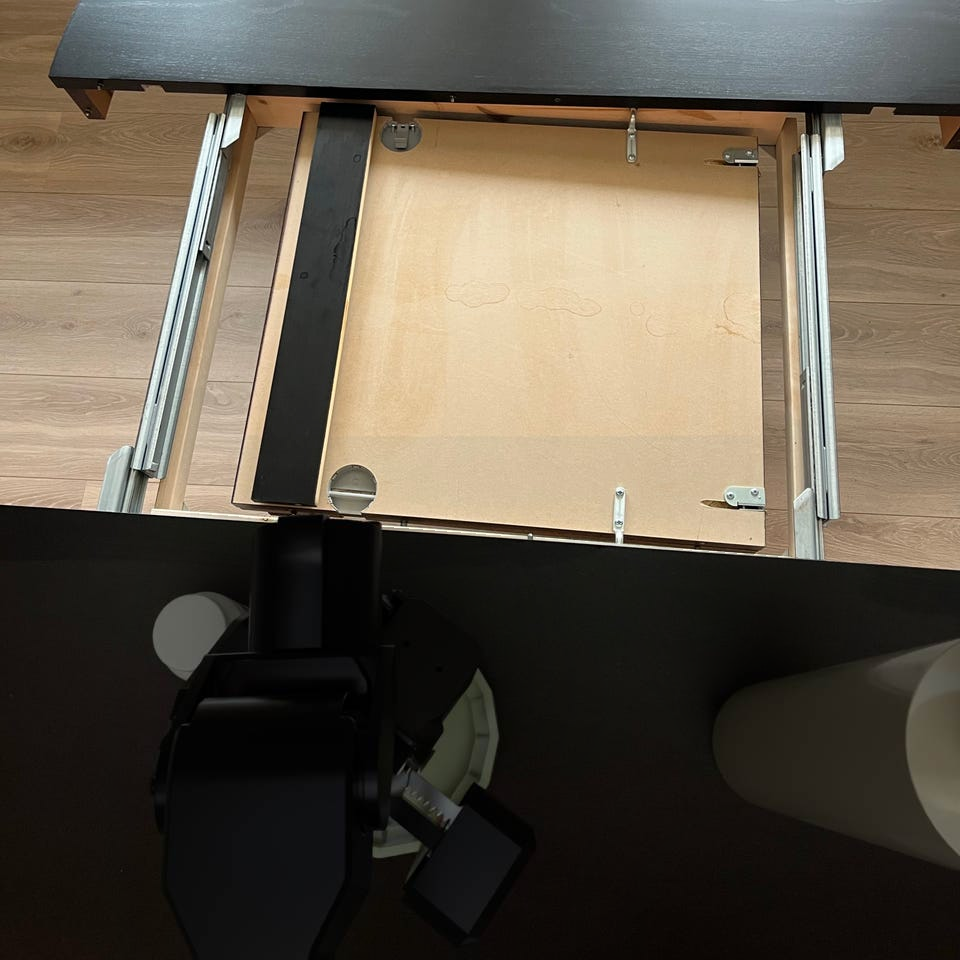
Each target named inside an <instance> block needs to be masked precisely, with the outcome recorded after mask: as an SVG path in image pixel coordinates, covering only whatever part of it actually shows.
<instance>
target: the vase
mask: <svg viewBox="0 0 960 960" xmlns="http://www.w3.org/2000/svg"><path fill="white" fill-rule="evenodd" d="M715 717H716V718H715V721H714V723H713V727H712V737H711V738H712V740H711V741H712V743H711V744H712V751H713V757H714V761H715V764H716V766H717V768H718V771H719V773H720V774H721V777H722V778H723V780H724V781H725V782H726V784H727V785H728V786H729V788H730V789H731V790H732V791H733V792H734V793H735V794H736V795H738V796H739V797H740V798H741V799H742V800H744V801H745V802H747V803H749V804H751V805H753V806H755V807H758V808H761V809H764V810H767V811H770V812H774V813H777V814H779V815H783V816H785V817H789V818H792V819H795V820H798V821H801V822H804V823H808V824H810V825H814V826H817V827H820V828H823V829H826V830H830V831H833V832H835V833H838V834H841V835H844V836H847V837H851V838H854V839H858V840H860V841H863V842H866V843H869V844H872V845H876V846H878V847H882V848H885V849H888V850H892V851H894V852H897V853H901V854H904V855H907V856H910V857H912V858H916V859H919V860H922V861H925V862H928V863H931V864H934V865H937V866H941V867H944V868H947V869H950V870H953V871H956V872H959V873H960V636H957V637H954V638H949V639H944V640H941V641H936V642H932V643H927V644H923V645H918V646H915V647H914V646H913V647H909V648H905V649H900V650H897V651H892V652H888V653H884V654H883V653H882V654H879V655H873V656H870V657H866V658H861V659H856V660H852V661H848V662H843V663H839V664H835V665H831V666H825V667H822V668H817V669H813V670H809V671H804V672H800V673H796V674H790V675H787V676H782V677H778V678H777V677H776V678H773V679H769V680H765V681H764V680H763V681H759V682H756V683H751V684H749V685H746V686H744V687H742V688H740V689H737V691H735V692H734V693H733V694H732V695H730V696H729V697H728V698H727V699H726V701H724V702H723V704H722V706H721V707H720V709H719V711H718V712H717V714H716V716H715Z"/></svg>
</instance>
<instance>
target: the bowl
mask: <svg viewBox="0 0 960 960" xmlns="http://www.w3.org/2000/svg"><path fill="white" fill-rule="evenodd" d="M443 727H444V732H443V734H442V735H441V737H440V738H439V740H438V741H437V743H436V744H435V746H434V747H433V749H434V750H435V751H436V752H435V753H434V754H433V756H432V757H431V759H430V760H429V762H428V763H427V765H426V766H425V768H424V769H423V771H422V772H421V773H420V775H421V776H422V777H423V778H425V779H426V780H427V781H428V782H430V783H431V784H432V785H433V786H434V787H436V788H437V789H438V790H439V791H441V792H442V793H443V794H444V795H446V796H447V797H448V798H449V799H451V800H452V801H453V802H454V803H456V802H457V801H458V800H459V798H460V797H461V796H462V795H463V794H464V792H465V791H466V790H467V789H468V788H469V787H470V785H471V784H472V783H473V782H475V783H477V784H478V785H480V786H481V787H483V788H484V789H486V790H487V789H488V787H489V786H490V785H491V783H492V780H493V776H494V771H495V766H496V761H497V756H498V752H499V748H500V743H501V742H500V741H501V738H502V737H501V736H502V735H501V730H500V729H501V728H500V722H499V716H498V711H497V704H496V697H495V693H494V691H493V689H492V687H491V685H490V684H489V682H488V681H487V679H486V677H485V675H484V673H483V672H482V671H481V669H480V667H478V669H477V671H476V674H475V676H474V678H473V680H472V683H471V684H470V686H469V688H468V689H467V690H466V692H465V693H464V694H463V695H462V697H461V698H460V699H459V701H458V702H457V703H456V705H455V706H454V708H453V709H452V710H451V712H450V713H449V714H448V716H447V717H446V719H445V720H444V721H443ZM410 792H411V788H409V789H408V790H406V791H405V792H404V795H403V796H405V797H406V798H407V799H408V800H409V801H411V802H412V803H413V804H414V805H416V806H417V807H418V808H419V809H420V810H422V811H423V812H424V813H425V814H427V815H428V816H429V817H430V818H432V819H433V820H435V819H436V816H435V815H436V811H437V809H436V808H435V809H434V810H433V811H431V812H430V811H429V808H430V803H429V804H427V805H426V806H425V807H424V806H422V805H423V801H424V798H422V799H421V800H419V801H416V798H417V795H418V794H417V793H416V794H414V795H413V796H410ZM420 845H421V842H420V841H419V840H417V839H416V838H415V837H414V836H413V835H411V834H410V833H409V832H408V831H406V830H405V829H404V828H403V827H402V826H400V825H399V824H398V823H397V822H396V821H394V820H393V819H392V818H391V817H390V816H389V819H388V825H387V828H386V830H385V831H374V834H373V858H376V859H385V858H390V857H395V856H402V855H406V854H412V853H417V852H418V850H419V848H420Z"/></svg>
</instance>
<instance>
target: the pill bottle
mask: <svg viewBox="0 0 960 960" xmlns="http://www.w3.org/2000/svg"><path fill="white" fill-rule="evenodd" d="M248 611H250V607H249V606H246V605H245V604H243V603H242V602H238V601H236V600H234V599H232V598H230V597H228V596H226V595H223V594H220V593H217V592H213V591H199V592H195V593H190V594H184V595H180V596H178V597H176V598H174V599H172V600H171V601H170V602H169V603H167V604H166V605H165V606H164V607H163V609H162V610H161V611H160V613H159V614H158V615H157V617H156V619H155V622H154V626H153V629H152V643H153V648H154V651H155V653H156V655H157V656H158V658H159V659H160V661H161V662H162V663H163V664H165V665H166V666H167V668H168V669H169V670H170V671H171V672H172V673H173V674H174V676H177V677H178V678H180V679H182V680H184V681H186V680H187V679H188V678H189V677H190V675H191V674H192V673H193V671H194V670H195V669H196V667H197V666H198V665H199V664H200V662H201V661H202V659H203V657H204V655H205V654H207V653H208V652H209V651H210V649H211V648H212V647H213V646H214V644H215V643H216V642H217V640H218V639H219V638H220V636H221V635H222V634H223V633H224V631H225V630H226V629H227V627H228V626H229V625H230V624H231V622H232V621H233V620H234V619H236V618H237V617H238V616H239V615H241V614H242V613H244V612H248Z"/></svg>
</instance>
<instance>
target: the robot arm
mask: <svg viewBox="0 0 960 960" xmlns="http://www.w3.org/2000/svg"><path fill="white" fill-rule="evenodd" d="M276 520H277V521H274V522H269V523H264V524H262V525H259V526H254V527H252V534H251V557H250V585H249V586H250V587H249V588H250V589H249V608H250V611H248V612H244V613H242V614H241V615H239V616H238V617H237V618H236V619H234V620H233V621H232V622H231V624H230V625H229V626H228V627H227V629H226V630H225V631H224V633H223V634H222V635H221V636H220V638H219V639H218V640H217V642H216V643H215V644H214V646H213V647H212V648H211V649H210V651H209V652H208V653H207V654H205V655H204V657H203V659H202V661H201V662H200V664H199V665H198V666H197V667H196V669H195V670H194V671H193V673H192V674H191V675H190V677H189V678H188V679H187V680H185V681H184V683H183V684H182V686H181V687H179V689H178V692H177V694H176V697H175V699H174V700H175V701H174V703H173V706H172V709H171V712H170V714H169V718H168V721H167V724H166V727H165V730H164V732H163V735H162V739H161V741H160V744H159V747H158V750H157V754H156V756H155V759H154V762H153V764H152V765H153V766H152V769H151V771H150V775H149V778H148V783H147V784H148V785H147V796H148V801H149V803H150V805H151V806H152V807H153V810H154V819H155V824H156V828H157V831H158V834H159V836H160V837H161V839H162V854H161V869H160V887H161V890H162V895H163V897H164V899H165V902H166V903H167V905H168V908H169V910H170V911H171V914H172V916H173V919H174V921H175V923H176V925H177V928H178V930H179V932H180V934H181V936H182V939H183V941H184V943H185V945H186V947H187V949H188V952H189V954H190V956H191V960H336V955H337V952H338V950H339V948H340V947H341V944H342V942H343V941H344V940H345V937H346V935H347V934H348V931H349V930H350V928H351V927H352V924H353V923H354V920H355V919H356V916H357V915H358V913H359V911H360V909H361V907H362V906H363V904H364V902H365V900H366V898H367V896H368V895H369V893H370V890H371V888H372V882H373V881H372V880H373V858H374V857H373V834H374V831H385V830H386V828H387V825H388V819H389V816H390V817H391V818H392V819H393V820H394V821H396V822H397V823H398V824H399V825H400V826H402V827H403V828H404V829H405V830H406V831H408V832H409V833H410V834H411V835H413V836H414V837H415V838H416V839H417V840H419V841H420V842H421V845H420V848H419V850H418V852H416V855H415V857H414V859H413V862H412V865H411V866H410V870H409V871H408V874H407V876H406V879H405V881H404V883H403V886H402V890H403V891H404V892H405V893H404V895H403V896H402V898H401V900H400V902H401V903H402V904H403V905H405V906H406V907H407V908H408V909H409V910H411V912H413V913H414V914H415V915H416V916H418V918H420V919H421V920H422V921H423V922H424V923H426V924H427V925H428V926H429V927H430V928H432V929H433V930H434V931H435V932H436V933H437V934H439V935H440V936H441V937H442V938H444V939H445V940H446V941H447V942H448V943H449V944H451V945H452V946H453V947H454V948H455V949H457V950H460V949H465V948H470V947H473V946H476V944H477V942H479V940H480V939H481V937H482V936H483V934H484V932H485V931H486V929H487V927H488V926H489V924H490V923H491V921H492V920H493V918H494V917H495V915H496V914H497V913H498V911H499V909H500V907H501V906H502V905H503V903H504V901H505V899H506V898H507V896H508V895H509V893H510V892H511V890H512V889H513V887H514V886H515V884H516V882H517V880H518V879H519V878H520V876H521V874H522V873H523V871H524V870H525V868H526V866H527V865H528V863H529V862H530V860H531V859H532V857H533V855H534V853H535V852H536V850H537V838H536V832H535V827H534V826H533V825H532V824H531V823H529V822H528V821H526V820H525V819H524V818H523V817H522V816H520V815H519V814H518V813H516V812H515V811H514V810H513V809H511V807H509V806H508V805H507V804H505V803H504V802H503V801H502V800H500V799H499V798H497V796H495V795H494V794H493V793H491V792H490V791H489V790H487V789H484V788H483V787H481V786H480V785H478V784H477V783H475V782H473V783H472V784H471V785H470V787H469V788H468V789H467V790H466V791H465V792H464V794H463V795H462V796H461V797H460V798H459V800H458V801H457V802H456V803H454V802H453V801H452V800H451V799H449V798H448V797H447V796H446V795H444V794H443V793H442V792H441V791H439V790H438V789H437V788H436V787H434V786H433V785H432V784H431V783H430V782H428V781H427V780H426V779H425V778H423V777H422V776H421V775H420V773H421V772H422V771H423V769H424V768H425V766H426V765H427V763H428V762H429V760H430V759H431V757H432V756H433V754H434V753H435V752H436V751H435V750H434V749H433V747H434V746H435V744H436V743H437V741H438V740H439V738H440V737H441V735H442V734H443V732H444V727H443V721H444V720H445V719H446V717H447V716H448V714H449V713H450V712H451V710H452V709H453V708H454V706H455V705H456V703H457V702H458V701H459V699H460V698H461V697H462V695H463V694H464V693H465V692H466V690H467V689H468V688H469V686H470V684H471V683H472V680H473V678H474V676H475V674H476V671H477V669H478V667H479V666H480V664H481V662H482V660H483V648H482V645H481V643H480V641H479V640H478V639H477V638H476V637H475V636H474V635H473V634H471V633H470V632H469V631H468V630H466V629H465V628H463V627H462V626H461V625H459V623H457V622H456V621H454V620H453V619H451V618H450V617H449V616H447V615H446V614H445V613H443V611H441V610H440V609H439V608H437V607H435V606H434V605H433V604H431V603H430V602H429V601H427V600H425V599H422V598H417V597H415V598H411V597H410V596H408V595H407V594H405V593H404V592H403V591H402V590H400V589H399V588H397V589H391V591H390V592H389V593H388V594H383V524H382V523H381V521H380V520H357V519H349V518H331V517H330V518H329V517H327V516H326V515H325V514H324V513H314V514H311V513H310V514H296V515H295V514H294V515H279V516H278V517H277V519H276ZM479 668H480V667H479ZM409 788H411V792H410V796H413V795H414V794H416V793H417V794H418V795H417V798H416V801H419V800H421V799H422V798H424V801H423V805H422V806H424V807H425V806H426V805H427V804H429V803H430V808H429V811H430V812H431V811H433V810H434V809H435V808H436V809H437V811H436V815H435V816H436V819H435V820H433V819H432V818H430V817H429V816H428V815H427V814H425V813H424V812H423V811H422V810H420V809H419V808H418V807H417V806H416V805H414V804H413V803H412V802H411V801H409V800H408V799H407V798H406V797H405V796H403V795H404V792H405V791H406V790H408V789H409Z"/></svg>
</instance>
